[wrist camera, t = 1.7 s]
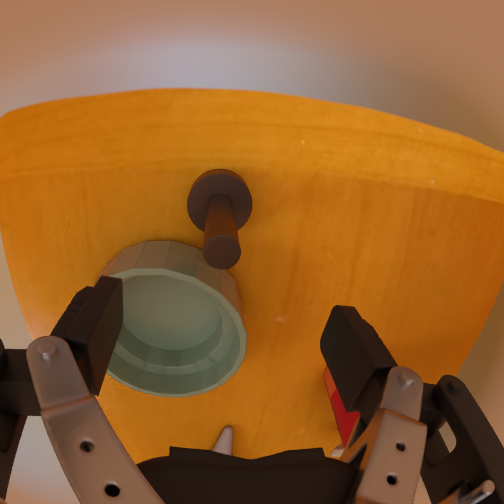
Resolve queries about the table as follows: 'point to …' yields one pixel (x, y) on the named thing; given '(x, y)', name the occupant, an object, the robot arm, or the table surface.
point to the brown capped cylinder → (220, 214)
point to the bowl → (175, 321)
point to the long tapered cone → (225, 442)
